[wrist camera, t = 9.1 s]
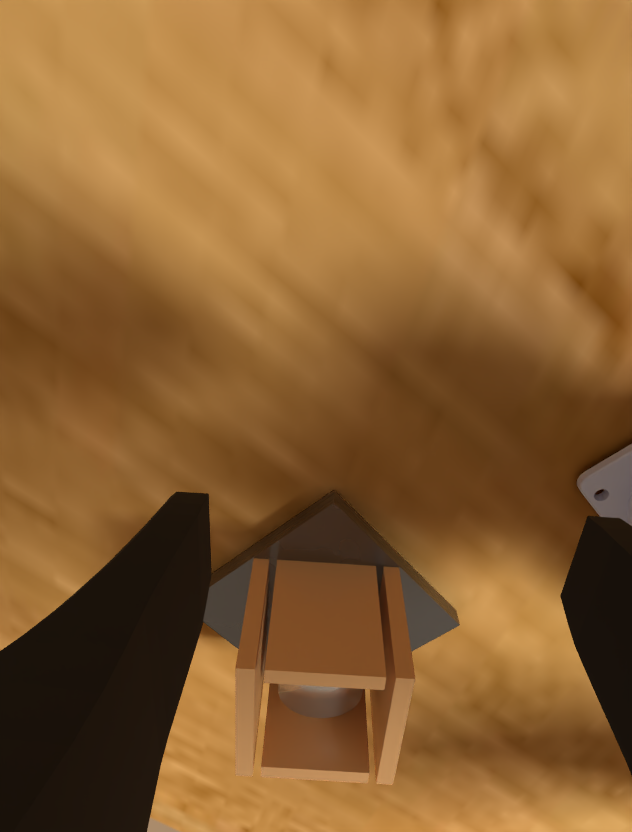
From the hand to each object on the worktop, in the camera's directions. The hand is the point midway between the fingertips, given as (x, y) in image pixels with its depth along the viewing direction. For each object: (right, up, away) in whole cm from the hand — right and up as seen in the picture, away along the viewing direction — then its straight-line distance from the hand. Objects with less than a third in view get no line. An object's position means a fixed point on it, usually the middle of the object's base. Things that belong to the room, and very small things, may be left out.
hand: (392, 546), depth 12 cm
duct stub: (-1, -5, +13) cm, 15 cm away
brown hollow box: (-1, -6, +13) cm, 14 cm away
